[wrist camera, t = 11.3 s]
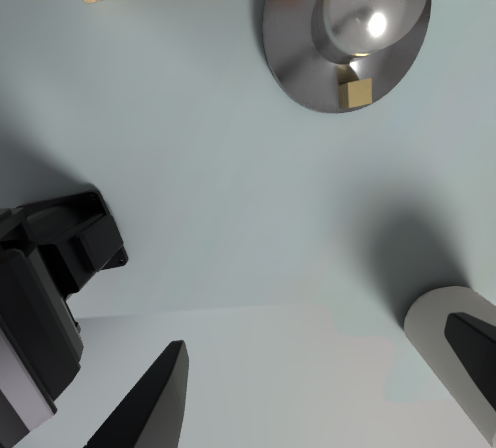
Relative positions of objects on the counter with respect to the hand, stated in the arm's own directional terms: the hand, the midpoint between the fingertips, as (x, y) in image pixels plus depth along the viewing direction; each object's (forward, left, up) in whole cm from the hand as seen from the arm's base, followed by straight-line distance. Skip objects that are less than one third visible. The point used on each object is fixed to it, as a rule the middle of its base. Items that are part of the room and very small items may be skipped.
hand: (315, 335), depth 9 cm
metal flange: (+6, +11, -13) cm, 18 cm away
